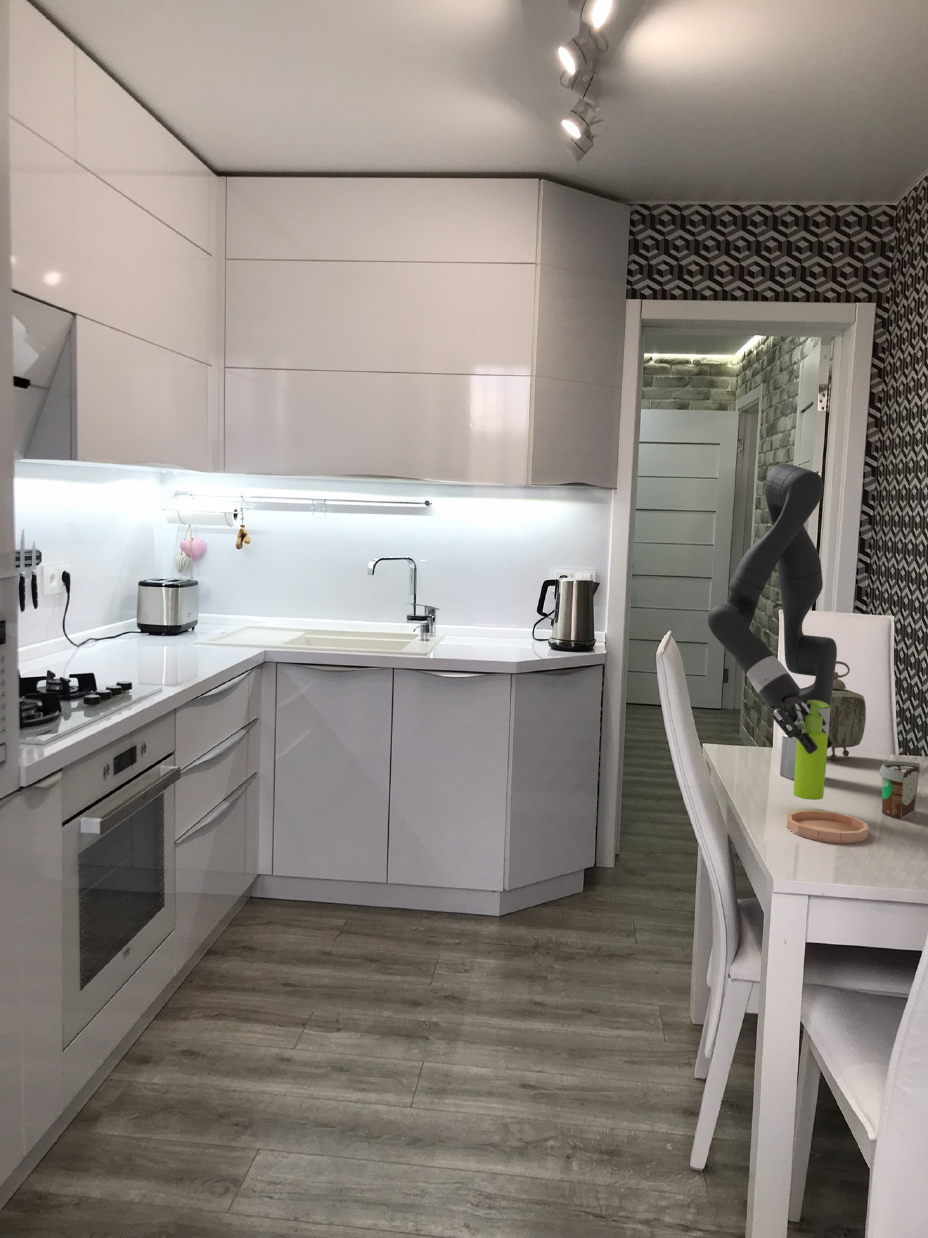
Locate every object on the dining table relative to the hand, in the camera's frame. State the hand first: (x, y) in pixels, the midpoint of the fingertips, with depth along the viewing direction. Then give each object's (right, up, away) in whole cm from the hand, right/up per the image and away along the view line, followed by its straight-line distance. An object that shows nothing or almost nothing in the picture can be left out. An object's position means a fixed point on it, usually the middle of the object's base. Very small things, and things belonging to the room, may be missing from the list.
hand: (821, 748), depth 209 cm
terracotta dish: (-3, -14, -12) cm, 19 cm away
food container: (+16, -14, +4) cm, 22 cm away
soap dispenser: (-2, -10, +2) cm, 11 cm away
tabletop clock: (+20, -9, +53) cm, 57 cm away
